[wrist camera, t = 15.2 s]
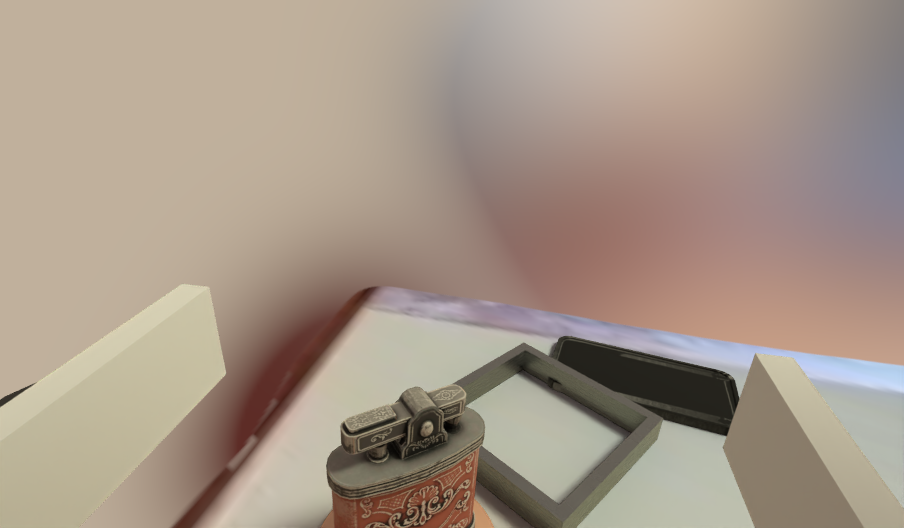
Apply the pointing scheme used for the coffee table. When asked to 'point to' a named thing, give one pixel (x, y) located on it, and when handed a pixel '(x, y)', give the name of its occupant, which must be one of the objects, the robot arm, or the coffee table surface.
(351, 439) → the lighter
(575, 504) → the holder frame
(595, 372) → the phone
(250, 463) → the coffee table surface
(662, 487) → the coffee table surface
